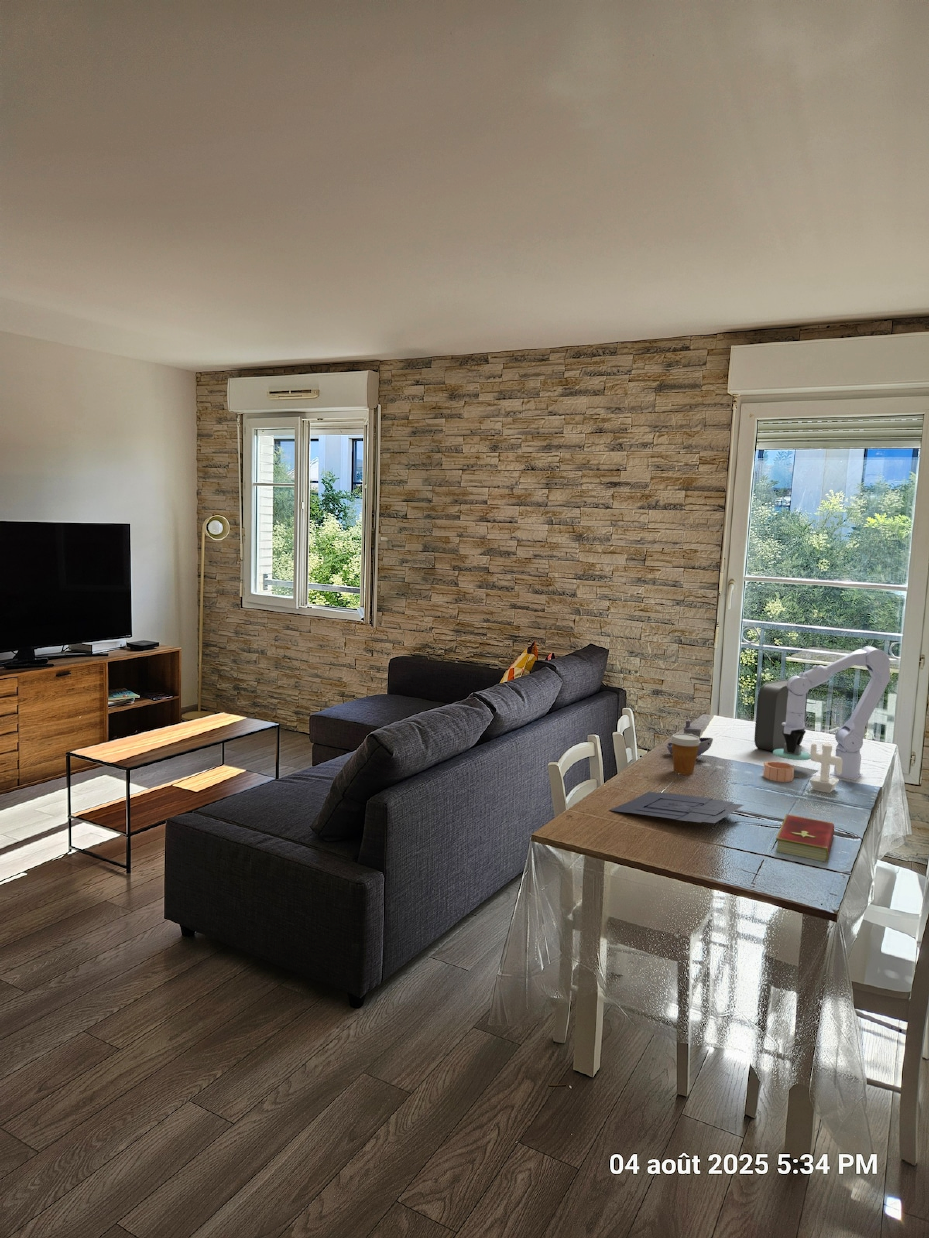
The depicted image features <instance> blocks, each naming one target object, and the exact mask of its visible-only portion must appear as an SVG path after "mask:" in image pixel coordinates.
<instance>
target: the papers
mask: <svg viewBox="0 0 929 1238" xmlns="http://www.w3.org/2000/svg"><path fill="white" fill-rule="evenodd" d="M743 806H744V804H740V803H735V802H733V801H727V800H722V799H716V798H715V799H714V798H712V797H703V796H695V795H685V794H679V793H670V792H655V791H647V792H645V793H643V794H642V795H639V796H638V797H635V798H633V799H631V800H630V801H627V802H625V803H623V804H620V805H618V806H616V807H614V808H611V809H610V811H611V812H612V811H613V812H620V813H628V814H637V815H643V816H644V815H645V816H651V817H659V818H665V819H666V818H667V819H672V820H676V821H685V822H694V823H695V822H696V823H702V822H703V823H708V824H709V823H710V824H716V823H718V822H719V821H720V820H722V819H724V818H725V817H727V816H729V815H730V814H731V813H733V812H735V811H736V810H738V809H740V808H742V807H743Z"/></svg>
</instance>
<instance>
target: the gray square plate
mask: <svg viewBox="0 0 929 1238" xmlns="http://www.w3.org/2000/svg"><path fill="white" fill-rule="evenodd" d="M792 765H793V766H794V776H793V778H798V779H803V780H806V779H809V777H811V776H814V775H815V774H816V773H818V772H820V771H819V770H818V769H814V768H813V769H812V768H809V767H803V766H800V765H794V764H792Z"/></svg>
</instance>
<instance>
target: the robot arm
mask: <svg viewBox="0 0 929 1238" xmlns="http://www.w3.org/2000/svg"><path fill="white" fill-rule="evenodd" d="M890 664H891V660H890V658H889V656H888V654H887V653H886V652H885V651H884V650H883V649H880V648H876V647H874V646H872V645H867V646H864V647H862V648H859V649H855V650H854V651H852V652H850V653H849V654H847V655H844V656H843V657H841V658H839V659H837V660H835V661H833V662H831V663H829V664H828V665H825V666H824V665H821V664H820V665H816V664H815V665H812V666H811V667H812V668H810V669H809V670H806V671H804V672H799V673H798V674H799V675H792V676H791V677H789V679H787V680H788V682H787V683H786V685H787V688H788V689H789V691H788V698H787V712H786V723H785V722H783V723H782V725H784V726H785V727H784V730H783V731H782V733H783V735H784V738H785V741H786V746H787V751H788V752H790V753H794V752H795V749H796V745H801V744H800V742H801V739H802V737H803V738H804V736H805V735H806V731H807V730H805V729H804V726H805V727H806V721H805V722H804V717H805V704H806V693H807V692H810V691H809V690H811V689H813V688H816V687H817V686H820V685H822V684H824V683H826V682H828V681H830V678H831V676H832V675H835V674H837V673H839V672H842V671H844V670H847V669H849V668H851V667H855V666H857V667H866V668H867V670H868V673H869V675H870V680H869V681H868V683H867V685H866V687H865V689H864V691H863V692H862V695H861V696H860V698H859V700H858V702H857V704H856V706H855V708H854V710H853V711H852V713H851V715H850V717H849V719H847V720H846V721H845V722H844V723H843V725H842V727H841V726H840V728H838V730H837V731H836V732H835V734H834V735H835V736H834V737H835V741H836V742H837V745H836V746H835V755H834V756H836V757H840V758H842V773H841V774H840V775H837V774H836V766H835V765H833V768H834V770H833V771H832V772H831V773H829V776H834V777H840V778H844V779H849V780H853V781H854V780H857V779H858V778H859V777H861V776H863V775H864V774H863V773H861V763H862V761H861V760H862V756H861V755H862V754H861V749H862V747H863V745H864V737H865V735H866V726H867V724H868V722H869V721H870V719H871V716H872V715H873V713H874V711H875V710H876V708H877V706H878V704H879V701H880V699H881V698H882V696H883V693H884V692H885V691H886V688H887V686H888V685H889V682H890V680H891V671H890V670H891V668H890ZM807 694H808V693H807ZM801 729H804V730H801ZM801 743H802V742H801Z"/></svg>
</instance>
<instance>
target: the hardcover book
mask: <svg viewBox="0 0 929 1238" xmlns="http://www.w3.org/2000/svg"><path fill="white" fill-rule="evenodd" d="M834 833H835V823H834V822H831V821H824V820H820V819H814V818H808V817H803V816H798V815H793V814H789V813H786V815H785V817H784V819H783V821H782V824H781V827H780V828H779V831H778V834H777V836H776V838H775V840H776V841H777V844H776V845H777V846H776V848H777V849H776V852H777V853H781V854H787V855H790V856H791V855H793V856H797V857H801V858H805V859H806V858H807V859H812V860H817V861H820V862H825V863H827V862H828V859H829V855H830V852H831V851H830V850H831V847H832V843H833V838H834Z"/></svg>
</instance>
